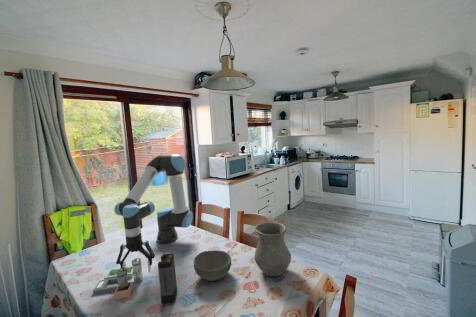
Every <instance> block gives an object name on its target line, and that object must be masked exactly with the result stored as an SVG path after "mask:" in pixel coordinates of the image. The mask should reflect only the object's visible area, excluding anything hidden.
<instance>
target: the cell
mask: <svg viewBox="0 0 476 317" xmlns="http://www.w3.org/2000/svg"><path fill="white" fill-rule="evenodd" d="M131 266H132V268H133V277H132V278H133V282H134V283H135V284H139V283H140V282H142V281H143V280H144V277H143V267H142V258H140V257H135V258H134V259H132V260H131Z"/></svg>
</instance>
